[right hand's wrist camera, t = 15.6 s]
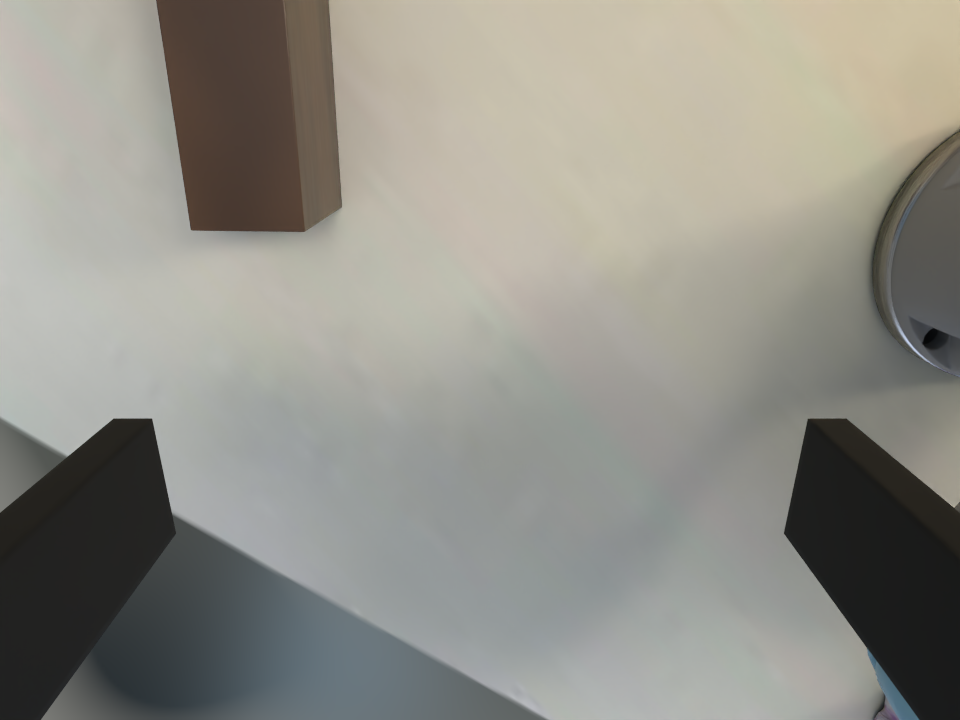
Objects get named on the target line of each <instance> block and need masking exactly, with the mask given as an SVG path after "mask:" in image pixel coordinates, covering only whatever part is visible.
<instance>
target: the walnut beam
mask: <svg viewBox="0 0 960 720" xmlns="http://www.w3.org/2000/svg"><path fill="white" fill-rule="evenodd" d="M156 1H157V8H158V15H159V21H160V28H161V34H162V41H163V48H164V54H165V61H166V67H167V74H168V81H169V87H170V94H171V101H172V107H173V114H174V120H175V127H176V134H177V140H178V147H179V153H180V160H181V167H182V173H183V180H184V187H185V193H186V200H187V206H188V213H189V220H190V226H191V230H197V231H273V232H305V231H306V230H308V229H309V228H311V227H312V226H314V225H315V224H317V223H318V222H320V221H321V220H323V219H324V218H326V217H327V216H329V215H330V214H332V213H333V212H335V211H336V210H338V209H339V208H341V207H342V202H341V187H340V172H339V156H338V141H337V125H336V110H335V94H334V79H333V63H332V48H331V33H330V17H329V2H328V0H156Z"/></svg>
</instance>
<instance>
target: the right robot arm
mask: <svg viewBox="0 0 960 720" xmlns="http://www.w3.org/2000/svg"><path fill="white" fill-rule="evenodd" d="M873 287H874V294H875V299H876V303H877V307H878V310H879V312H880V315H881V317H882V319H883V321H884V323H885V325H886V327H887V328H888V330H889V331H890V333H891V334H892V335H893V337H894V338H895V339H896V340H897V341H898V342H899V343H900V344H901V345H902V346H903V347H904V348H906V349H907V350H908V351H909V352H911V353H912V354H914V355H915V356H917V357H919V358H920V359H922V360H924V361H926V362H928V363H929V364H931V365H933V366H935V367H937V368H939V369H941V370H943V371H945V372H947V373H950V374H953V375H955V376H959V377H960V131H959V132H958V133H956V134H955V135H953V136H952V137H951V138H949V139H948V140H947V141H946V142H944V143H943V144H942V145H940V146H939V147H938V148H937V149H936V150H935V151H934V152H933V153H932V154H930V155H929V156H928V157H927V158H926V159H925V160H924V162H923V163H922V164H921V165H920V166H919V167H918V168H917V169H916V170H915V172H914V173H913V174H912V175H911V176H910V178H909V179H908V180H907V182H906V183H905V184H904V186H903V187H902V189H901V190H900V192H899V193H898V195H897V197H896V198H895V200H894V202H893V203H892V205H891V207H890V209H889V211H888V213H887V216H886V218H885V220H884V223H883V225H882V228H881V231H880V233H879V237H878V241H877V244H876V249H875V255H874V262H873ZM175 534H176V531H175V526H174V522H173V517H172V512H171V507H170V502H169V498H168V493H167V488H166V483H165V478H164V474H163V469H162V464H161V459H160V454H159V450H158V445H157V440H156V435H155V431H154V426H153V421H152V419H113V420H112V421H110V422H109V423H108V424H107V425H106V426H104V427H103V428H102V429H101V430H99V431H98V432H97V433H96V434H95V435H93V436H92V437H91V438H90V439H89V440H87V441H86V442H85V443H84V444H83V445H81V446H80V447H79V448H78V449H77V450H75V451H74V452H73V453H72V454H71V455H69V456H68V457H67V458H66V459H65V460H63V461H62V462H61V463H60V464H59V465H57V466H56V467H55V468H54V469H52V470H51V471H50V472H49V473H48V474H46V475H45V476H44V477H43V478H42V479H40V480H39V481H38V482H37V483H36V484H34V485H33V486H32V487H31V488H30V489H28V490H27V491H26V492H25V493H24V494H22V495H21V496H20V497H19V498H18V499H16V500H15V501H14V502H13V503H12V504H10V505H9V506H8V507H7V508H5V509H4V510H3V511H2V512H1V513H0V720H41V719H42V717H43V716H44V714H45V713H46V712H47V710H48V709H49V708H50V706H51V705H52V703H53V702H54V701H55V699H56V698H57V697H58V695H59V694H60V692H61V691H62V690H63V688H64V687H65V686H66V684H67V683H68V681H69V680H70V679H71V677H72V676H73V675H74V673H75V672H76V670H77V669H78V668H79V666H80V665H81V664H82V662H83V661H84V659H85V658H86V657H87V655H88V654H89V653H90V651H91V650H92V648H93V647H94V646H95V644H96V643H97V642H98V640H99V639H100V637H101V636H102V635H103V633H104V632H105V630H106V629H107V628H108V626H109V625H110V624H111V622H112V621H113V619H114V618H115V617H116V615H117V614H118V613H119V611H120V610H121V608H122V607H123V606H124V604H125V603H126V602H127V600H128V599H129V597H130V596H131V595H132V593H133V592H134V591H135V589H136V588H137V586H138V585H139V584H140V582H141V581H142V580H143V578H144V577H145V575H146V574H147V573H148V571H149V570H150V569H151V567H152V566H153V564H154V563H155V562H156V560H157V559H158V558H159V556H160V555H161V553H162V552H163V551H164V549H165V548H166V547H167V545H168V544H169V542H170V541H171V540H172V538H173V537H174V536H175ZM784 534H785V536H786V537H787V538H788V540H789V541H790V542H791V544H792V545H793V547H794V548H795V549H796V551H797V552H798V553H799V555H800V556H801V558H802V559H803V560H804V562H805V563H806V564H807V566H808V567H809V569H810V570H811V571H812V573H813V574H814V575H815V577H816V578H817V580H818V581H819V582H820V584H821V585H822V586H823V588H824V589H825V591H826V592H827V593H828V595H829V596H830V597H831V599H832V600H833V602H834V603H835V604H836V606H837V607H838V608H839V610H840V611H841V613H842V614H843V615H844V617H845V618H846V619H847V621H848V622H849V624H850V625H851V626H852V628H853V629H854V631H855V632H856V633H857V635H858V636H859V637H860V639H861V640H862V642H863V643H864V644H865V646H866V647H867V650H868V656H869V658H870V661H871V663H872V665H873V667H874V669H875V671H876V676H877V680H878V682H879V684H880V686H881V688H882V690H883V692H884V694H885V696H886V698H887V700H888V701H889V703H890V705H891V707H892V708H893V710H894V712H895V714H896V715H897V717H898V718H899V720H960V502H959V503H958V505H957V506H956V507H955V508H953V507H952V506H951V505H950V504H949V503H947V502H946V501H945V500H944V499H942V498H941V497H940V496H939V495H938V494H936V493H935V492H934V491H933V490H932V489H930V488H929V487H928V486H927V485H926V484H924V483H923V482H922V481H921V480H920V479H918V478H917V477H916V476H915V475H914V474H912V473H911V472H910V471H909V470H908V469H906V468H905V467H904V466H903V465H901V464H900V463H899V462H898V461H897V460H895V459H894V458H893V457H892V456H891V455H889V454H888V453H887V452H886V451H885V450H883V449H882V448H881V447H880V446H879V445H877V444H876V443H875V442H874V441H873V440H871V439H870V438H869V437H868V436H867V435H865V434H864V433H863V432H862V431H861V430H859V429H858V428H857V427H856V426H854V425H853V424H852V423H851V422H850V421H848V420H847V419H808V421H807V426H806V431H805V435H804V440H803V445H802V450H801V454H800V459H799V464H798V469H797V474H796V478H795V483H794V488H793V493H792V498H791V502H790V507H789V512H788V517H787V522H786V526H785V531H784Z"/></svg>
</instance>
